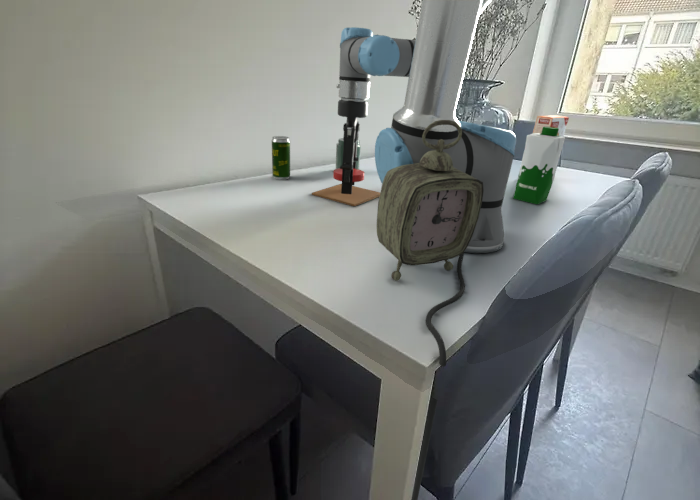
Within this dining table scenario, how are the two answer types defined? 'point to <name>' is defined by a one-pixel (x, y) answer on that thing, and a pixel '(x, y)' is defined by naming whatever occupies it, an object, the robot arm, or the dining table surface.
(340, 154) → the jar
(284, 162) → the beer can
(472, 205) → the tabletop clock
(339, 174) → the lid
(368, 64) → the robot arm
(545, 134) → the milk carton
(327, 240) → the dining table surface
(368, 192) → the mat
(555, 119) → the cracker box
